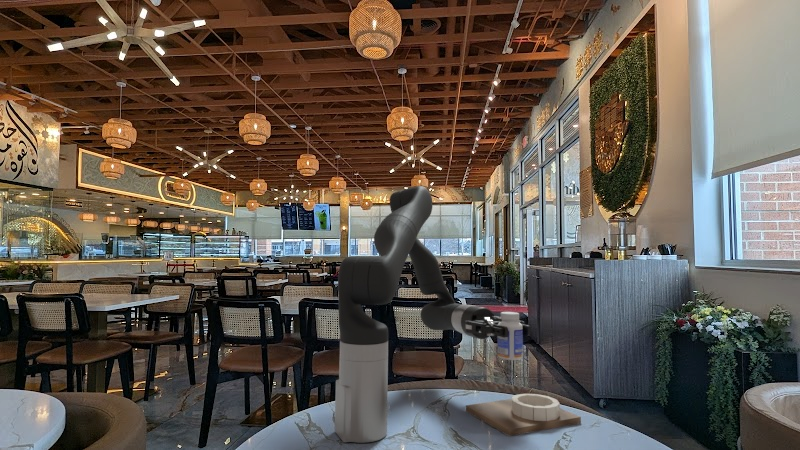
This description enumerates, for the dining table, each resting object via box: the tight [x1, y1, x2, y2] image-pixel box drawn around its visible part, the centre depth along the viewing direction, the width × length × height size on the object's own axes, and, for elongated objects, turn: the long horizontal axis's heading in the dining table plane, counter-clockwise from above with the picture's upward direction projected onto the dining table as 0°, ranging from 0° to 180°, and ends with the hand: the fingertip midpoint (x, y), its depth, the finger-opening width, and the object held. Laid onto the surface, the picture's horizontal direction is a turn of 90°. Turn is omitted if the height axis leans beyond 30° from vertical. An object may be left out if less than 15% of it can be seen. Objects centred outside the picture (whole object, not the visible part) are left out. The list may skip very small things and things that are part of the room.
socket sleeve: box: [510, 393, 561, 421], centre depth 93 cm, size 9×9×2 cm
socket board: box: [465, 398, 582, 437], centre depth 94 cm, size 18×15×1 cm
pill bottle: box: [496, 311, 524, 361], centre depth 98 cm, size 5×5×10 cm
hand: (517, 331), depth 96 cm, fingers closed on pill bottle, 5 cm apart
